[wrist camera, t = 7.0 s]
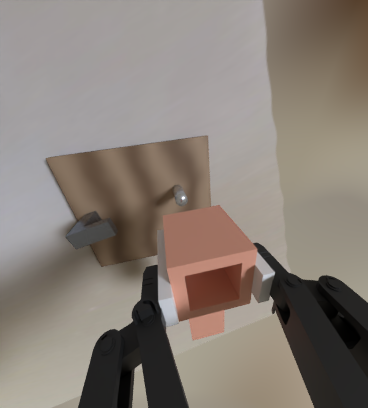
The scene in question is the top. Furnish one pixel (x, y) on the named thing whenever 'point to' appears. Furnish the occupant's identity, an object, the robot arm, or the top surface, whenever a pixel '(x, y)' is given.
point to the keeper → (91, 230)
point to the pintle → (179, 195)
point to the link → (207, 267)
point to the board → (134, 190)
